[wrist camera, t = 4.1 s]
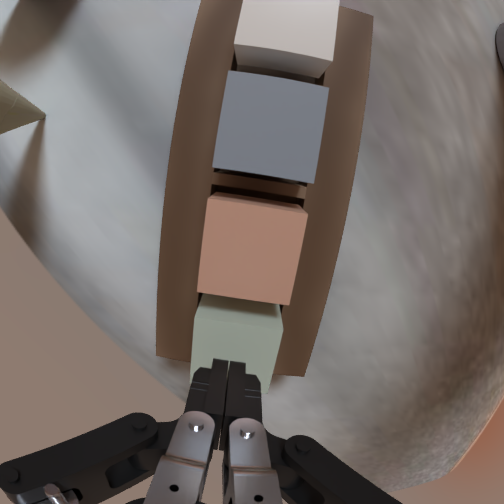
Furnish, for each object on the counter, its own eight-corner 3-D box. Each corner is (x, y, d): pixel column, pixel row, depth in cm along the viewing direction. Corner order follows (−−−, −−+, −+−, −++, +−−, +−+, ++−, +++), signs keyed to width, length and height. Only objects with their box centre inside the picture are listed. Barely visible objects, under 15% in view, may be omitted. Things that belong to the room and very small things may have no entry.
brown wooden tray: (363, 41, 16) (384, 19, 13) (305, 344, 23) (314, 377, 19) (203, 13, 16) (193, -14, 12) (161, 323, 22) (145, 353, 18)
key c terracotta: (298, 204, 16) (308, 214, 13) (283, 281, 17) (288, 305, 14) (216, 191, 15) (207, 198, 13) (206, 269, 17) (196, 291, 14)
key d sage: (278, 302, 17) (283, 329, 14) (265, 362, 18) (267, 394, 15) (203, 291, 17) (194, 316, 14) (197, 352, 18) (189, 383, 15)
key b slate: (315, 101, 14) (329, 87, 11) (302, 179, 15) (313, 183, 12) (233, 87, 14) (228, 70, 11) (219, 166, 15) (211, 167, 12)
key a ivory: (326, 14, 13) (340, -11, 10) (318, 78, 14) (332, 61, 11) (250, 1, 12) (249, -27, 10) (237, 64, 14) (233, 44, 11)
